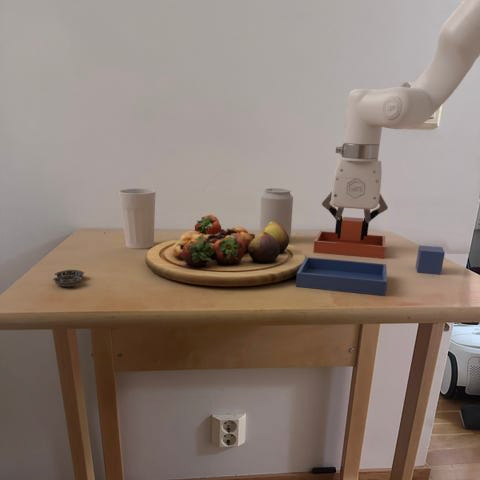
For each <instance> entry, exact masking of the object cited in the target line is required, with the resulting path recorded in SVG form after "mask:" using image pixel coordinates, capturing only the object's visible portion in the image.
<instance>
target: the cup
mask: <svg viewBox="0 0 480 480" xmlns="http://www.w3.org/2000/svg"><path fill="white" fill-rule="evenodd" d="M117 193H118V199H119V206H120V213H121V219H122V226H123V227H122V228H123V233H124V240H125V247H126V248H128V249H134V250H141V249H142V250H143V249H151V248H152V247H154V246H155V219H156V218H155V214H156V190H155V189H150V188H125V189H119V190H118V192H117Z"/></svg>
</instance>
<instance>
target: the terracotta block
mask: <svg viewBox="0 0 480 480" xmlns="http://www.w3.org/2000/svg"><path fill="white" fill-rule="evenodd" d="M342 219H343V220H342V227H341V236H340V240H348V241H360V239H361V231H362V223H363V221H364V217H350V216H342Z"/></svg>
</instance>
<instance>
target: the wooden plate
mask: <svg viewBox="0 0 480 480" xmlns="http://www.w3.org/2000/svg"><path fill="white" fill-rule="evenodd" d="M305 257H306V254H305V253H304V251H302V250H301V249H299V248H298V247H296V246H295V245H292V244H290V238H289V236H288V234H287V232H286V231H285V230H284V228H282V227H281V226H280V225H279V224H277V223H276V222H270V223H269V224H268V225H267V226H266V227H265V228H264V229H263V231H262V233H261V234H260V233H259V234H258V235H256V234H254V233H253V232H252V233H251V232H248V230H247V229H246V228H245V227H240V226H237V227H230V228H227V229H226V230H225V229H224V228H222V226H221V223H220V221H219V218H218V217H217V216H215V215H212V214H207V215H205V216H202V217H201V220H196V223H195V224H194V229H192V230H188V231H186V232H184V233H182V235H181V236H180V238H177V239H172V240H167V241H164V242H161V243H159V244H156V245H154V246H153V247H150V248H149V250H148V251H147V252H146V253H145V259H144V260H145V264H146V266H147V268H148V269H149V270H150V271H152V272H154V273H155V274H157V275H159V276H161V277H163V278H166V279H169V280H173V281H176V282H181V283H182V282H183V283H185V284H193V285H198V286H209V287H251V286H261V285H268V284H273V283H278V282H281V281H287V280H289V279H292V278H294V277H295V276H297V272H298V270H299V268H300V267H301V265H302V263H303V261H304V259H305Z"/></svg>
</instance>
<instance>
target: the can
mask: <svg viewBox="0 0 480 480" xmlns="http://www.w3.org/2000/svg"><path fill="white" fill-rule="evenodd" d="M263 190H264V193H262V195H261V196H260V214H259V215H260V217H259V219H260V220H259V235H260V234H261V233H262V231H263V229H264V228H265V227H266V226H267V225H268V224H269V223H270V222H276V223H277V224H279V225H280V226H281V227H282V228H284V230H285V231H286V232H287V234H288V236H289V239H291V237H292V235H291V234H292V222H293V207H294V206H293V205H294V196H293V195H292V193H291V192H292V190H291V189H286V188H281V187H280V188H277V187H270V188H265V189H263Z"/></svg>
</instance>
